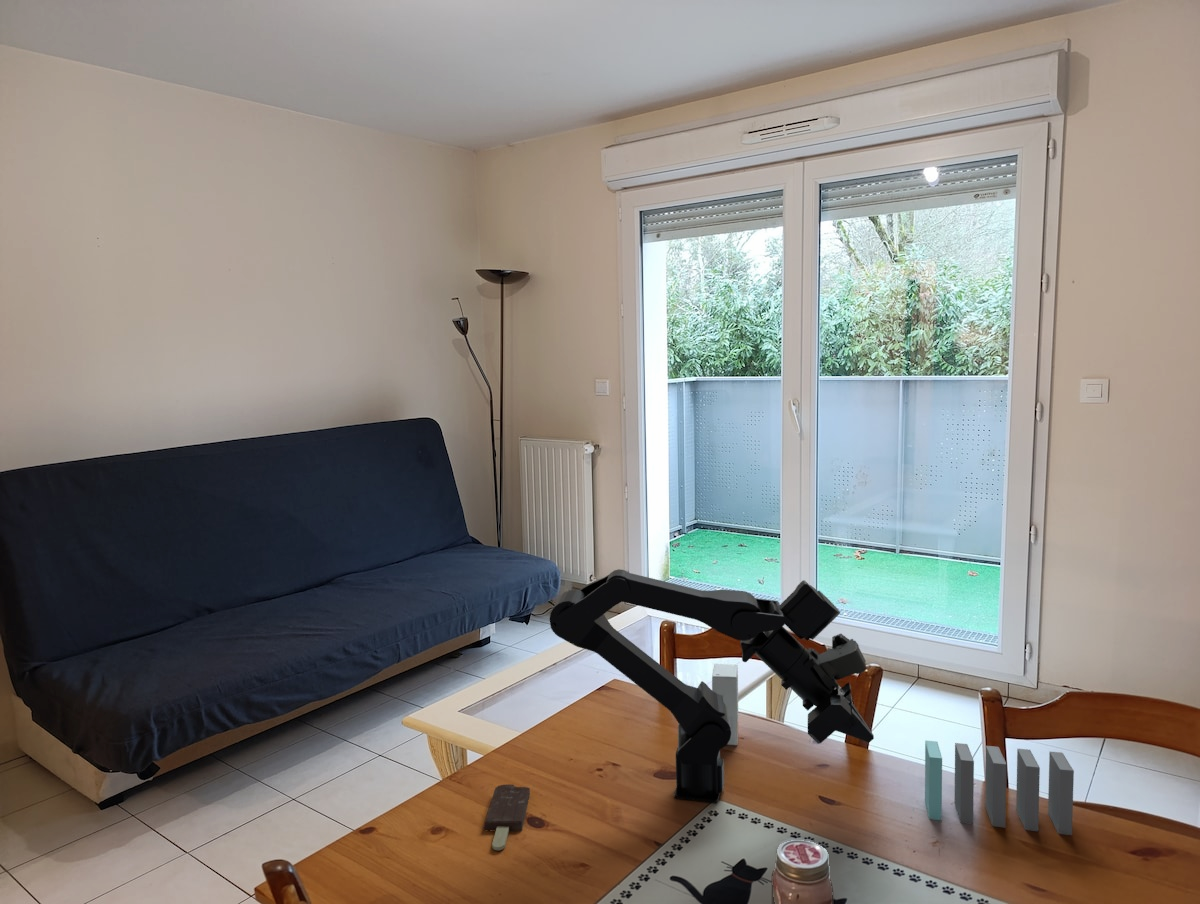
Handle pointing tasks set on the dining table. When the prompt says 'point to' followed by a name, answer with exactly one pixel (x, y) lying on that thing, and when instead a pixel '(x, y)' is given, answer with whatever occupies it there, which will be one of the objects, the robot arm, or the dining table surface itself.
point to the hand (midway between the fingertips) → (871, 739)
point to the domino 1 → (964, 783)
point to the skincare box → (728, 694)
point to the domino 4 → (1060, 793)
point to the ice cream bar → (506, 812)
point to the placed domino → (933, 780)
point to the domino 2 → (995, 786)
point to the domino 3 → (1027, 789)
